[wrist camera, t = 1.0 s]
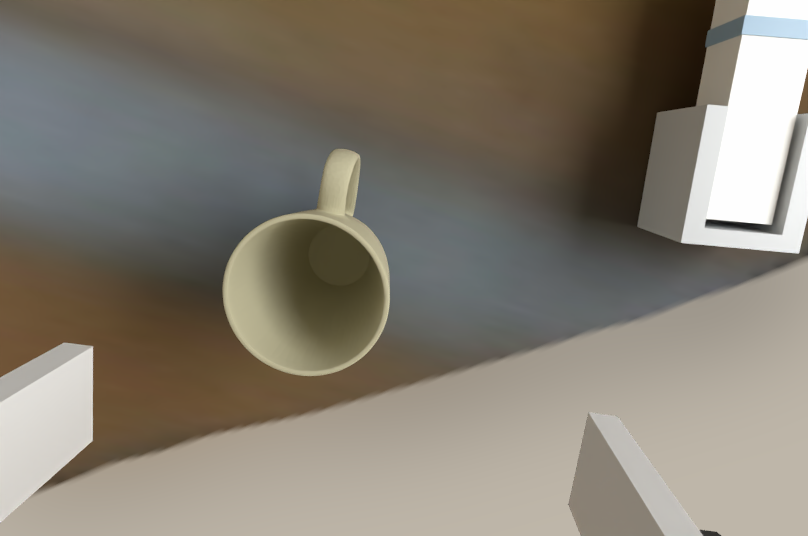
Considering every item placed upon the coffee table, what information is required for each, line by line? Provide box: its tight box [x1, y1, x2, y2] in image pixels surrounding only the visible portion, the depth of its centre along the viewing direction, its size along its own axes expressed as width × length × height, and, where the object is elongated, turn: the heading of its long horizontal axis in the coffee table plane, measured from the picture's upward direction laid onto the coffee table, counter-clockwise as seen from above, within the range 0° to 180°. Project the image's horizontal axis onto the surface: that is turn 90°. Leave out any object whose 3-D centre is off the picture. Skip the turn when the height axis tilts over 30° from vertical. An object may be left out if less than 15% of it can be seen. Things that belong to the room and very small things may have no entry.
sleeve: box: [637, 105, 808, 253], centre depth 36 cm, size 8×7×7 cm
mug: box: [223, 149, 390, 376], centre depth 35 cm, size 11×10×12 cm
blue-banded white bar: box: [696, 0, 808, 225], centre depth 34 cm, size 15×4×4 cm, turn 175°
